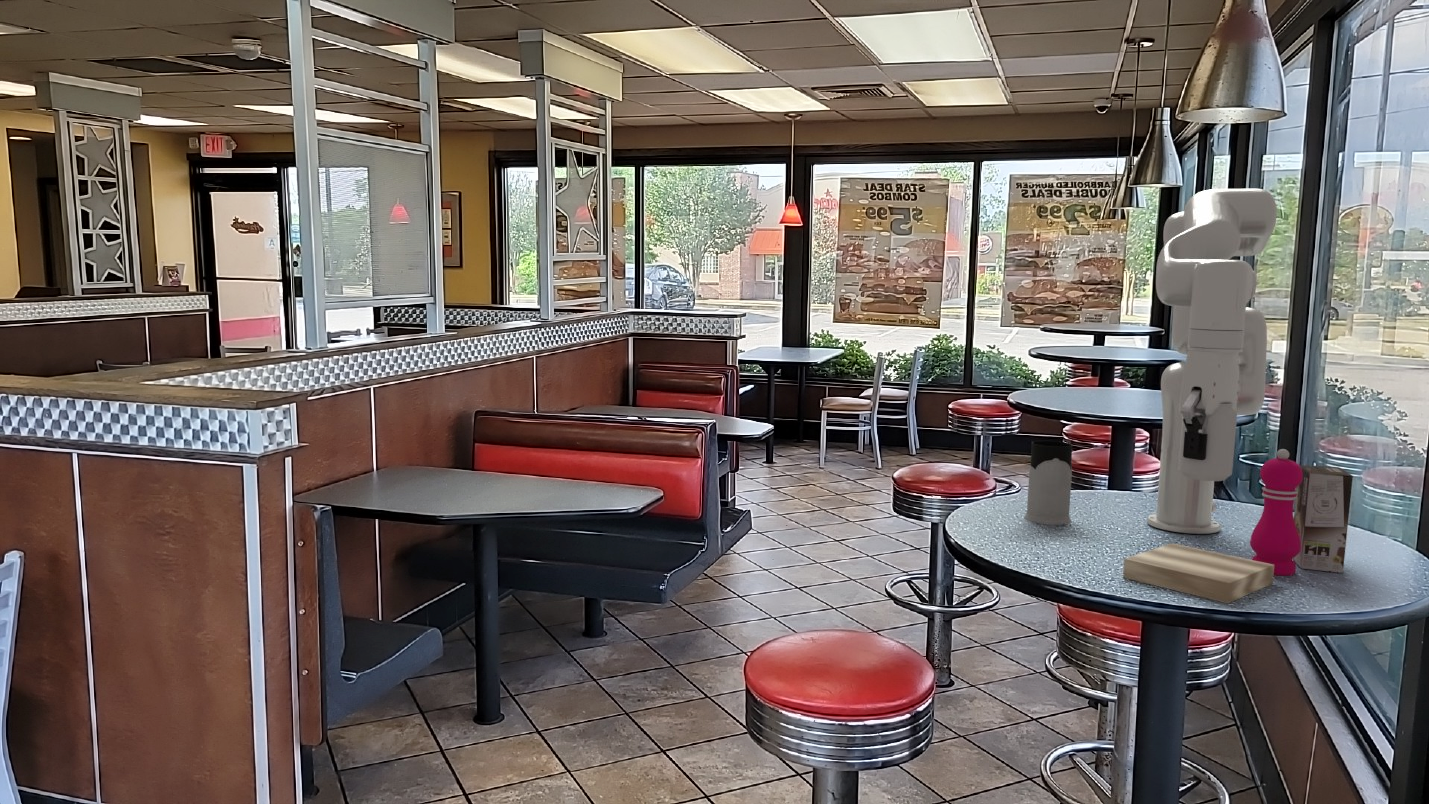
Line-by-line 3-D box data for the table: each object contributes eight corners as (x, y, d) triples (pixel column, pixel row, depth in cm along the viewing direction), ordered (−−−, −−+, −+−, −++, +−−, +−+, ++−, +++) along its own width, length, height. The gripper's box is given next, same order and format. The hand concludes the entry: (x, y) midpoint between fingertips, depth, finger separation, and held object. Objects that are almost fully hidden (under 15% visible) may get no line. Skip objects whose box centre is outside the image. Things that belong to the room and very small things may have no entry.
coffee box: (1345, 573, 163) (1354, 475, 161) (1299, 569, 165) (1308, 472, 163) (1332, 559, 171) (1341, 466, 169) (1289, 555, 173) (1297, 463, 171)
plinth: (1170, 560, 168) (1172, 543, 168) (1272, 583, 156) (1274, 564, 156) (1122, 577, 158) (1124, 558, 158) (1228, 603, 146) (1229, 583, 146)
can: (1238, 483, 151) (1244, 404, 150) (1184, 480, 153) (1190, 402, 151) (1223, 474, 158) (1229, 398, 157) (1172, 471, 160) (1178, 396, 158)
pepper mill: (1239, 563, 168) (1249, 444, 165) (1283, 564, 167) (1294, 446, 165) (1261, 576, 160) (1272, 452, 158) (1307, 577, 160) (1319, 453, 158)
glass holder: (1029, 523, 193) (1033, 446, 191) (1014, 507, 207) (1018, 435, 205) (1076, 525, 192) (1081, 448, 190) (1058, 509, 206) (1062, 436, 204)
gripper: (1215, 339, 161) (1207, 447, 164) (1163, 341, 150) (1155, 458, 152) (1265, 341, 156) (1255, 454, 158) (1215, 344, 145) (1205, 465, 147)
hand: (1206, 455), depth 155 cm, fingers closed on can, 7 cm apart
